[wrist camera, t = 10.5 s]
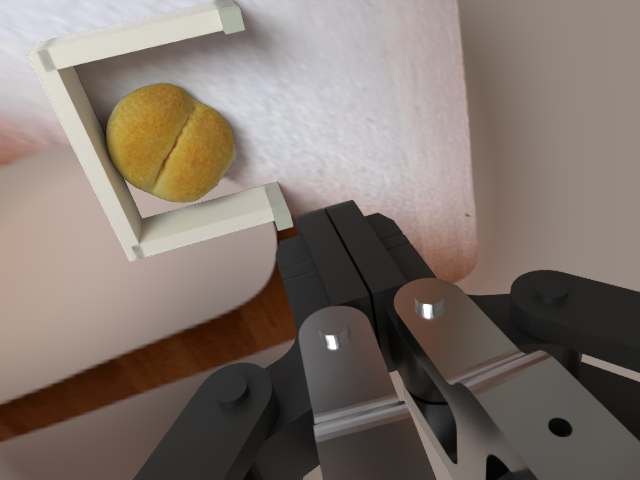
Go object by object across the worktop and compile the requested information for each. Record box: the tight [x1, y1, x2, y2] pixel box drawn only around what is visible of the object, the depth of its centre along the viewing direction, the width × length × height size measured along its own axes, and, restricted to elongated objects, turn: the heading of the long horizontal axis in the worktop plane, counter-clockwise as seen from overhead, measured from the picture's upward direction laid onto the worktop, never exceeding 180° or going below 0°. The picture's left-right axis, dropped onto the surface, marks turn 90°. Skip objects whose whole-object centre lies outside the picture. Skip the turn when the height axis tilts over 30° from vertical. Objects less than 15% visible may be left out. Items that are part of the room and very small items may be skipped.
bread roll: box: [106, 83, 236, 203], centre depth 36 cm, size 8×9×4 cm
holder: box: [26, 0, 293, 261], centre depth 34 cm, size 15×13×6 cm
